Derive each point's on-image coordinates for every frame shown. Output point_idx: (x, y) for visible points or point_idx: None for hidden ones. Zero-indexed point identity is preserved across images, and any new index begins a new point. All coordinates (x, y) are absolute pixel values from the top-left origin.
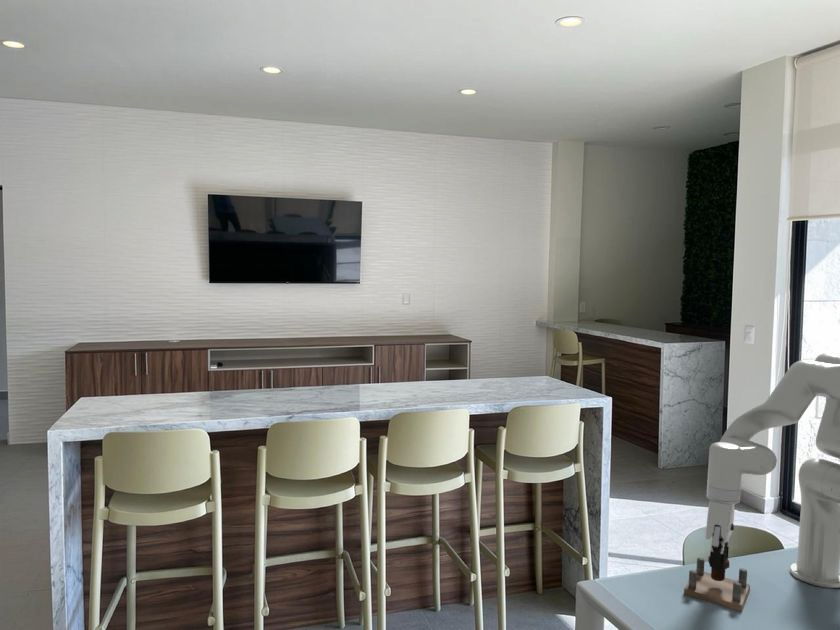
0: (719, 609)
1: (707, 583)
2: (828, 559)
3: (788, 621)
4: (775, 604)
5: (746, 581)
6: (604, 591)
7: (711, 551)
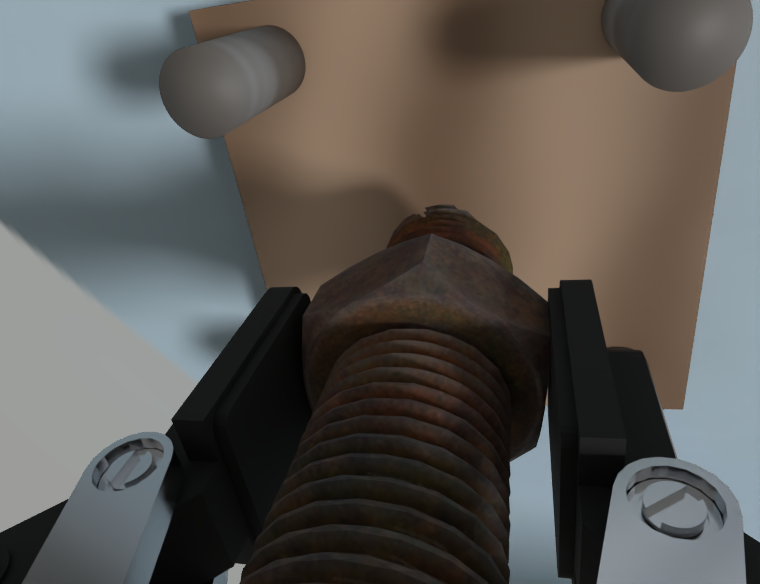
0: (230, 273)
1: (458, 146)
2: None
3: None
4: (549, 495)
5: None
6: None
7: (114, 451)
